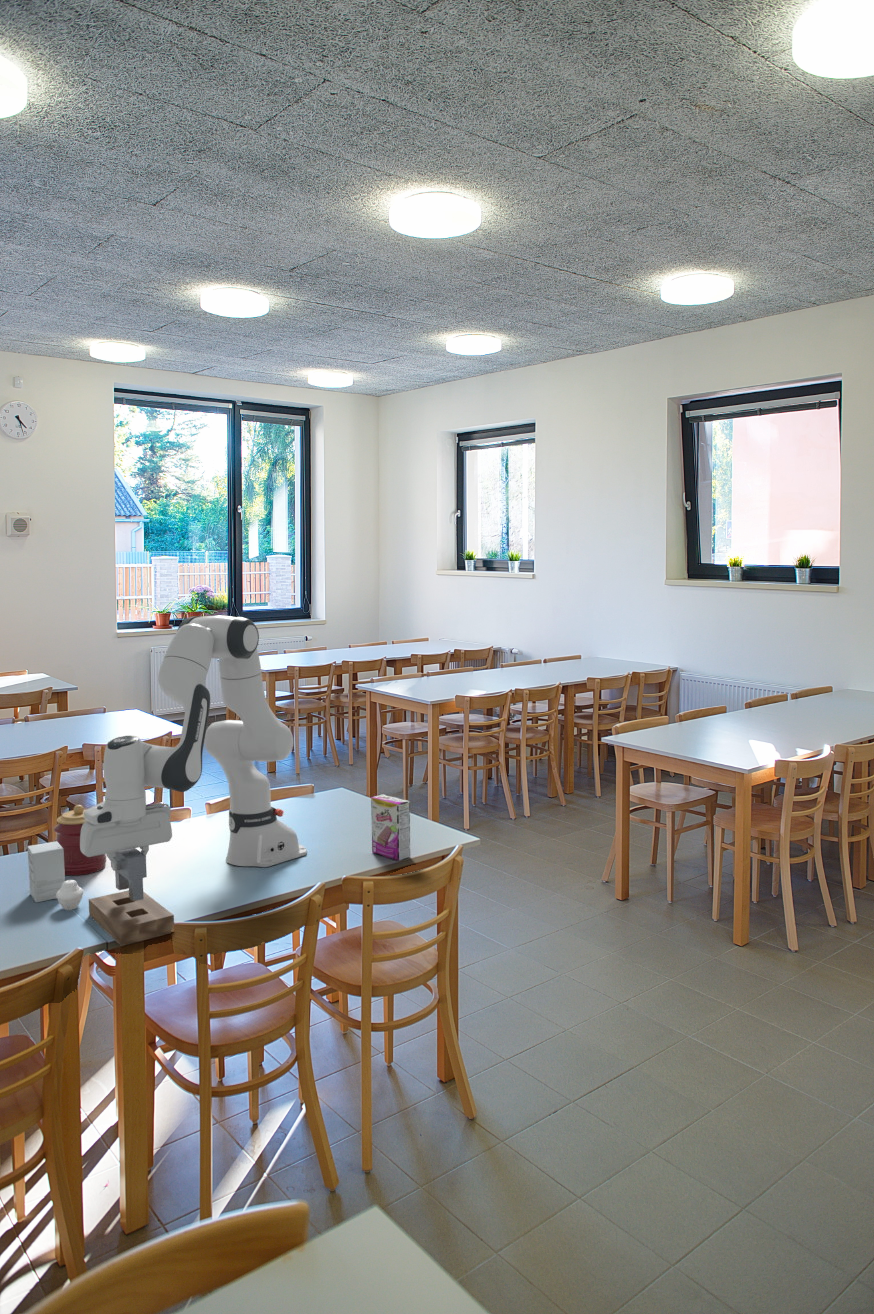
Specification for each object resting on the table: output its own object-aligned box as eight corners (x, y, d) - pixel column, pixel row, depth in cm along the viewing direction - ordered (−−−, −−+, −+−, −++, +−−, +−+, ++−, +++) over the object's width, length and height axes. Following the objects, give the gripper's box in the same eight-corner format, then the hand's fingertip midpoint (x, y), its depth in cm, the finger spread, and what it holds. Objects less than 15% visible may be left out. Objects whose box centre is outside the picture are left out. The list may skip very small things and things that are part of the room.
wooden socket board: (139, 904, 226) (138, 888, 225) (174, 932, 208) (173, 915, 208) (89, 915, 218) (88, 899, 218) (121, 946, 201) (120, 928, 201)
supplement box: (60, 888, 237) (58, 840, 235) (66, 897, 231) (64, 848, 229) (29, 894, 233) (26, 845, 231) (34, 903, 227) (31, 853, 225)
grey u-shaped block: (129, 884, 218) (127, 843, 217) (147, 898, 209) (145, 855, 208) (112, 888, 216) (110, 846, 215) (129, 902, 207) (128, 859, 206)
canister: (44, 873, 249) (41, 808, 247) (79, 858, 261) (76, 797, 259) (83, 879, 244) (79, 813, 242) (117, 863, 256) (114, 801, 254)
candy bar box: (370, 853, 263) (370, 797, 261) (383, 849, 267) (382, 793, 265) (398, 862, 256) (397, 803, 254) (411, 857, 259) (410, 800, 257)
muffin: (78, 901, 228) (76, 873, 227) (88, 908, 223) (87, 879, 223) (52, 908, 224) (51, 879, 223) (62, 914, 219) (61, 886, 218)
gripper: (165, 798, 219) (167, 855, 221) (76, 813, 207) (79, 873, 208) (175, 803, 214) (177, 861, 216) (85, 819, 202) (87, 880, 203)
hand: (128, 867), depth 212 cm, fingers closed on grey u-shaped block, 4 cm apart
